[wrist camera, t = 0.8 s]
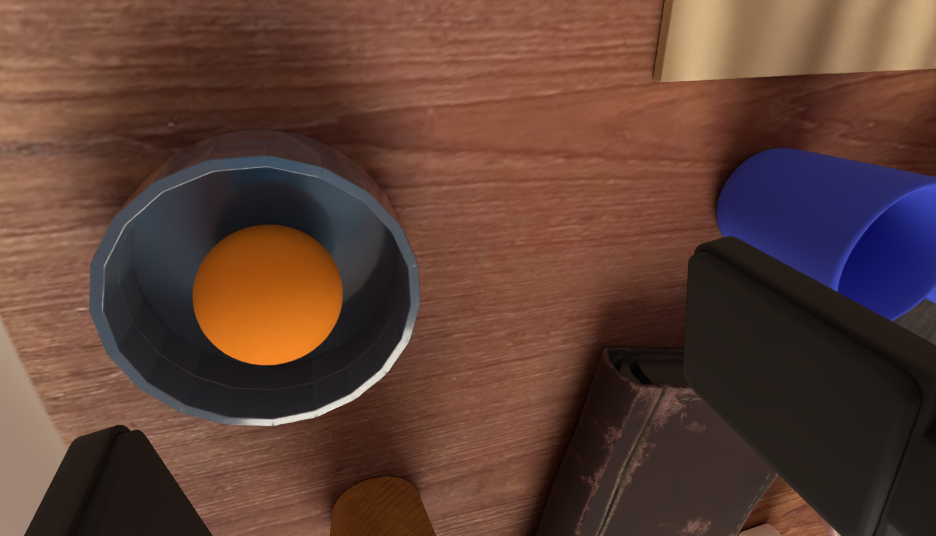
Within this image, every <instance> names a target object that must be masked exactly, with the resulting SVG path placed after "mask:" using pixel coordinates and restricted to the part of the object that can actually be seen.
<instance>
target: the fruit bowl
mask: <svg viewBox="0 0 936 536" xmlns="http://www.w3.org/2000/svg"><path fill="white" fill-rule="evenodd" d="M266 224H267V225H282V226H287V227H291V228H294V229H297V230H299V231H301V232H303V233H305V234H307V235H309V236H311V237H312V238H314V239H315V240H316V241H318V242H319V243H320V244H321V245H322V246H323V247H324V248H325V249H326V250H327V251H328V253H329V254H330V255H331V257H332V258H333V260H334V262H335V263H336V266H337V268H338V270H339V273H340V277H341V280H342V288H343V300H342V306H341V311H340V314H339V317H338V320H337V322H336V324H335V326H334V327H333V329H332V331H331V332H330V334H329V335H328V336H327V338H326V339H325V340H324V341H323V342H322V343H321V344H320V345H319V346H317V347H316V348H315V349H314V350H312V351H311V352H309V353H308V354H306V355H304V356H302V357H300V358H298V359H295V360H293V361H290V362H286V363H282V364H276V365H257V364H250V363H246V362H243V361H240V360H237V359H235V358H233V357H231V356H229V355H227V354H225V353H224V352H222V351H221V350H219V349H218V348H217V347H216V346H215V345H214V344H213V343H212V342H211V341H210V340H209V339H208V338H207V337H206V335H205V334H204V332H203V331H202V329H201V327H200V325H199V323H198V321H197V318H196V315H195V312H194V306H193V286H194V281H195V277H196V274H197V271H198V269H199V267H200V265H201V263H202V261H203V260H204V258H205V256H206V255H207V254H208V253H209V251H210V250H211V249H212V248H213V247H214V246H215V245H217V244H218V243H219V242H220V241H221V240H222V239H224V238H225V237H227V236H228V235H230V234H232V233H234V232H236V231H239V230H242V229H245V228H247V227H252V226H256V225H266ZM420 303H421V300H420V284H419V267H418V263H417V260H416V258H415V256H414V254H413V251H412V249H411V247H410V245H409V242H408V240H407V238H406V235H405V233H404V231H403V229H402V226H401V224H400V222H399V220H398V218H397V216H396V213H395V211H394V209H393V207H392V205H391V203H390V201H389V198H388V196H387V195H386V193H385V192H384V191H383V190H382V189H381V188H380V186H379V185H378V184H377V182H376V181H375V180H374V179H373V178H372V177H371V176H370V175H369V174H368V173H367V171H366V170H365V169H363V168H362V167H361V166H360V165H359V164H357V163H356V162H355V161H354V160H352V159H351V158H350V157H348V156H347V155H345V154H343V153H342V152H340V151H339V150H337V149H335V148H333V147H331V146H329V145H327V144H325V143H322V142H320V141H318V140H315V139H312V138H309V137H306V136H303V135H299V134H294V133H289V132H284V131H276V130H261V129H259V130H241V131H235V132H229V133H224V134H219V135H216V136H213V137H210V138H207V139H204V140H201V141H199V142H197V143H195V144H193V145H191V146H188V147H186V148H184V149H183V150H181V151H179V152H177V153H175V154H174V155H173V156H172V157H171V158H169V159H168V160H167V161H165V162H164V163H163V164H162V165H161V166H160V167H159V168H158V169H157V170H156V171H155V172H153V174H152V175H150V176H149V177H148V178H147V179H146V180H145V181H144V182H143V183H142V184H141V185H140V186H139V187H138V188H137V190H136V191H135V192H134V193H133V194H132V196H131V197H130V198H129V199H128V200H127V201H126V203H125V204H124V205H123V206H122V207H121V209H120V210H119V211H118V212H117V213H116V215H115V216H114V217H113V218H112V220H111V222H110V224H109V226H108V228H107V230H106V232H105V234H104V236H103V238H102V240H101V242H100V244H99V246H98V248H97V251H96V253H95V255H94V257H93V259H92V261H91V264H90V295H89V310H90V314H91V316H92V319H93V321H94V324H95V326H96V329H97V331H98V334H99V336H100V339H101V341H102V344H103V346H104V349H105V351H106V353H107V355H108V356H109V357H110V358H111V359H112V360H113V361H114V362H115V363H116V365H117V366H118V367H119V368H120V369H121V370H122V371H123V372H124V373H125V374H126V375H127V377H128V378H129V379H130V380H131V381H132V382H133V383H134V384H135V385H136V386H137V387H138V388H139V389H140V390H142V391H144V392H146V393H147V394H149V395H151V396H152V397H154V398H156V399H158V400H159V401H161V402H163V403H165V404H166V405H168V406H170V407H171V408H173V409H175V410H177V411H178V412H181V413H184V414H188V415H191V416H195V417H199V418H203V419H206V420H210V421H214V422H217V423H221V424H226V425H249V426H272V425H273V426H276V425H281V424H286V423H291V422H296V421H301V420H306V419H311V418H316V417H318V416H321V415H323V414H325V413H327V412H329V411H331V410H334V409H336V408H338V407H340V406H342V405H344V404H347V403H349V402H351V401H353V400H355V399H357V398H358V397H359V396H360V395H362V394H363V393H364V392H365V391H367V390H368V389H369V388H370V387H371V386H373V385H374V384H375V383H376V382H378V381H379V380H380V379H381V378H382V377H384V376H385V375H386V374H387V373H388V372H389V370H390V369H391V368H392V366H393V365H394V363H395V362H396V360H397V359H398V357H399V356H400V355H401V353H402V352H403V350H404V349H405V347H406V346H407V344H408V343H409V341H410V339H411V335H412V332H413V328H414V325H415V322H416V318H417V315H418V312H419V308H420Z"/></svg>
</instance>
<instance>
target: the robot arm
mask: <svg viewBox="0 0 936 536" xmlns="http://www.w3.org/2000/svg"><path fill="white" fill-rule="evenodd" d="M683 373H684V377H685V379H686V381H687V383H688V385H689V386H690V387H691V389H692V390H693V391H694V392H695V393H696V394H697V395H698V396H699V397H700V398H701V399H702V400H703V401H704V402H705V403H706V404H707V405H708V406H710V407H711V408H712V409H713V410H714V411H715V412H716V413H717V414H718V415H719V416H720V417H721V418H722V419H723V420H724V421H725V422H726V423H727V424H728V425H729V426H730V427H731V428H732V429H733V430H734V431H735V432H736V433H737V434H738V435H739V436H740V437H741V438H742V439H743V440H744V441H745V442H746V443H747V444H748V445H749V446H750V447H751V448H752V449H753V450H754V451H755V452H756V453H757V454H758V455H759V456H760V457H761V458H762V459H763V460H764V461H765V462H766V463H767V464H768V465H769V466H770V467H771V468H772V469H773V470H774V471H775V472H777V473H778V474H779V475H780V476H781V477H782V478H783V479H784V480H785V481H786V482H787V483H788V484H789V485H790V486H791V487H792V488H793V489H794V490H795V491H796V492H797V493H798V494H799V495H800V496H801V497H802V498H803V499H804V500H805V501H806V502H807V503H808V504H809V505H810V506H811V507H812V508H813V509H814V510H815V511H816V512H817V513H818V514H819V515H820V516H821V517H822V518H823V519H824V520H825V521H826V522H827V523H828V524H829V525H830V526H831V527H832V528H833V529H834V530H835V531H836V532H837V533H839V534H840V535H841V536H936V345H935V344H933V343H931V342H929V341H927V340H926V339H924V338H922V337H920V336H918V335H916V334H915V333H913V332H911V331H909V330H907V329H905V328H903V327H902V326H900V325H898V324H896V323H894V322H892V321H890V320H889V319H887V318H885V317H883V316H881V315H879V314H877V313H876V312H874V311H872V310H870V309H868V308H866V307H864V306H863V305H861V304H859V303H857V302H855V301H853V300H852V299H850V298H848V297H846V296H844V295H842V294H840V293H839V292H837V291H835V290H833V289H831V288H829V287H827V286H826V285H824V284H822V283H820V282H818V281H816V280H814V279H813V278H811V277H809V276H807V275H805V274H803V273H801V272H800V271H798V270H796V269H794V268H792V267H790V266H788V265H787V264H785V263H783V262H781V261H779V260H777V259H776V258H774V257H772V256H770V255H768V254H766V253H764V252H763V251H761V250H759V249H757V248H755V247H753V246H751V245H750V244H748V243H746V242H744V241H742V240H740V239H738V238H736V237H733V236H726V237H723V238H719V239H716V240H713V241H710V242H707V243H703V244H701V245H699V246H698V247H697V248H696V250H695V253H694V255H693V256H691V257H690V259H689V263H688V278H687V299H686V319H685V340H684V360H683ZM24 536H212V534H211V533H210V531H209V530H208V528H207V527H206V525H205V524H204V522H203V521H202V519H201V518H200V516H199V515H198V513H197V512H196V510H195V509H194V507H193V506H192V504H191V503H190V501H189V500H188V498H187V497H186V495H185V494H184V492H183V491H182V489H181V488H180V487H179V485H178V484H177V482H176V481H175V479H174V478H173V476H172V475H171V473H170V472H169V470H168V469H167V467H166V466H165V464H164V463H163V461H162V460H161V458H160V457H159V455H158V454H157V452H156V451H155V449H154V448H153V446H152V445H151V443H150V442H149V440H148V439H147V437H146V436H145V435H144V433H143V432H141V431H140V430H133V431H130V430H129V429H128V428H127V427H125V426H124V425H116V426H113V427H110V428H107V429H103V430H100V431H97V432H94V433H91V434H87V435H84V436H81V437H78V438H77V439H75V440H74V441H73V442H72V444H71V445H70V447H69V449H68V451H67V453H66V455H65V457H64V459H63V460H62V462H61V464H60V466H59V468H58V470H57V472H56V474H55V476H54V478H53V480H52V482H51V484H50V486H49V488H48V490H47V492H46V494H45V496H44V498H43V500H42V502H41V504H40V506H39V508H38V510H37V511H36V513H35V515H34V517H33V520H32V521H31V523H30V525H29V527H28V529H27V531H26V533H25V535H24Z"/></svg>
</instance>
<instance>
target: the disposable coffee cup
mask: <svg viewBox="0 0 936 536" xmlns="http://www.w3.org/2000/svg"><path fill="white" fill-rule="evenodd" d="M330 536H436V534H435V532H434V529H433V527H432V525H431V523H430V520H429V518H428V516H427V513H426V510H425V508H424V505H423V503H422V500H421V498H420V496H419V493H418V491H417V489H416V487H415V486H414V485H412V484H411V483H410V482H408V481H406V480H404V479H401V478H398V477H377V478H372V479H368V480H365V481H362V482H360V483H358V484H356V485H354V486H352V487H351V488H349V489H348V490H347V491H345V492H344V493H343V494H342V495H341V496H340V497H339V499H338V500H337V501H336V503H335V505H334V507H333V509H332V514H331V529H330Z"/></svg>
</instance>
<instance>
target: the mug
mask: <svg viewBox="0 0 936 536" xmlns="http://www.w3.org/2000/svg"><path fill="white" fill-rule="evenodd" d="M716 217H717V223H718V227H719V229H720V231H721V233H722V235H723V236H724V237H726V236H733V237H736V238H738V239H740V240H742V241H744V242H746V243H748V244H750V245H751V246H753V247H755V248H757V249H759V250H761V251H763V252H764V253H766V254H768V255H770V256H772V257H774V258H776V259H777V260H779V261H781V262H783V263H785V264H787V265H788V266H790V267H792V268H794V269H796V270H798V271H800V272H801V273H803V274H805V275H807V276H809V277H811V278H813V279H814V280H816V281H818V282H820V283H822V284H824V285H826V286H827V287H829V288H831V289H833V290H835V291H837V292H839V293H840V294H842V295H844V296H846V297H848V298H850V299H852V300H853V301H855V302H857V303H859V304H861V305H863V306H864V307H866V308H868V309H870V310H872V311H874V312H876V313H877V314H879V315H881V316H883V317H885V318H887V319H889V320H890V321H893V320H895V319H897V318H898V317H900V316H902V315H904V314H905V313H907V312H908V311H910V310H911V309H912V308H914V307H915V306H916V305H918V304H919V303H920V302H921V301H922V300H923V299H924V298H925V299H927V300H929V301H931V302H933V303H935V304H936V177H933V176H928V175H923V174H918V173H913V172H908V171H903V170H898V169H893V168H888V167H883V166H878V165H873V164H868V163H863V162H858V161H853V160H848V159H843V158H838V157H833V156H828V155H823V154H818V153H813V152H808V151H803V150H798V149H791V148H776V149H770V150H766V151H763V152H760V153H758V154H756V155H754V156H752V157H750V158H749V159H747V160H746V161H744V162H743V163H742V164H741V165H740V166H738V167H737V169H736V170H735V171H734V172H733V173H732V174H731V176H730V177H729V178H728V180H727V181H726V183H725V185H724V186H723V189H722V191H721V193H720V196H719V199H718V203H717V210H716Z"/></svg>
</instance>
